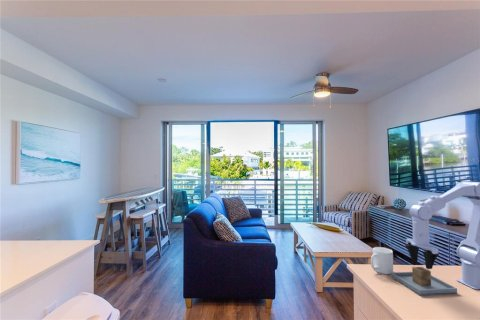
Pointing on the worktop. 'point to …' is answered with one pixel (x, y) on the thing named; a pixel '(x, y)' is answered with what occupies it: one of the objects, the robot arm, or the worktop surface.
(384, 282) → the worktop surface
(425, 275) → the block
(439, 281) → the tray
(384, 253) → the cup
